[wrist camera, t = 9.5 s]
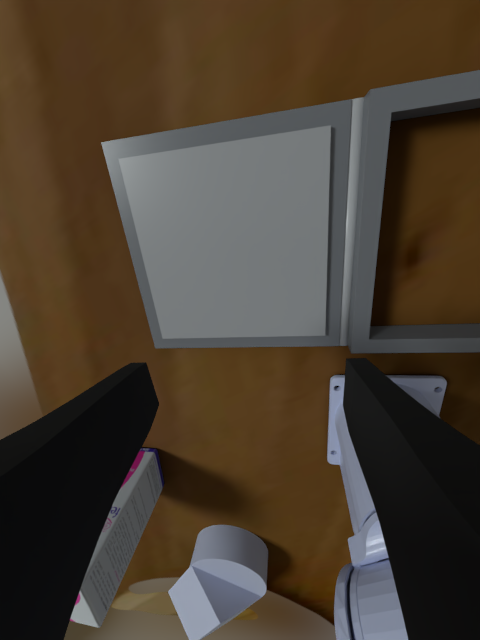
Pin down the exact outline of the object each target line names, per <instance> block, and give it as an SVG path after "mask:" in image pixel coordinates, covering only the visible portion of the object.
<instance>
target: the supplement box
mask: <svg viewBox="0 0 480 640" xmlns="http://www.w3.org/2000/svg"><path fill="white" fill-rule="evenodd" d="M163 486H164V478H163V474H162V469H161V465H160V460H159V455H158V451H157V449H151V448H141V449H140V451H139V453H138V455H137V457H136V459H135V461H134V463H133V465H132V466H131V468H130V470H129V472H128V474H127V476H126V478H125V480H124V482H123V484H122V486H121V488H120V490H119V492H118V494H117V496H116V498H115V501H114V503H113V505H112V507H111V510H110V512H109V515H108V517H107V520H106V522H105V525H104V527H103V530H102V532H101V535H100V537H99V540H98V542H97V545H96V548H95V550H94V553H93V556H92V558H91V561H90V564H89V566H88V569H87V572H86V574H85V577H84V580H83V583H82V586H81V589H80V592H79V595H78V597H77V600H76V603H75V606H74V609H73V612H72V615H71V618H70V621H74V622H77V623H81V624H86V625H89V626H94V627H98V628H99V627H100V626H101V625H102V623H103V621H104V618H105V616H106V614H107V612H108V609H109V607H110V605H111V603H112V601H113V598H114V596H115V594H116V592H117V589H118V587H119V585H120V583H121V580H122V578H123V576H124V574H125V571H126V569H127V567H128V565H129V562H130V560H131V558H132V556H133V553H134V551H135V549H136V547H137V544H138V542H139V540H140V538H141V536H142V533H143V531H144V529H145V527H146V525H147V522H148V520H149V518H150V516H151V513H152V511H153V509H154V507H155V504H156V502H157V500H158V498H159V495H160V493H161V491H162V488H163Z"/></svg>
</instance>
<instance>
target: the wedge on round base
mask: <svg viewBox="0 0 480 640" xmlns="http://www.w3.org/2000/svg"><path fill="white" fill-rule="evenodd" d="M267 566H268V549H267V547H266V545H265V543H264V542H263V541H262V540H261V539H260V538H259V537H257V536H256V535H255V534H253V533H251V532H249V531H247V530H245V529H242V528H239V527H235V526H230V525H214V526H209V527H207V528H204V529H203V530H202V531H201V532H200V533H199V534H198V537H197V541H196V545H195V549H194V552H193V556H192V560H191V564H190V567H189V568H188V570H187V571H186V572H185V573H184V574H183V575H182V577H181V578H180V579H179V580H178V581H177V582H176V583H175V585H174V586H173V587H172V588H171V589H170V590H169V592H168V593H169V595H170V597H171V599H172V602H173V604H174V606H175V609H176V611H177V613H178V615H179V618H180V620H181V622H182V625H183V627H184V629H185V631H186V634H187V636H188V638H189V640H201V639H203V638H204V637H206V636H207V635H209V634H210V633H212V632H213V631H215V630H217V629H218V628H220V627H221V626H223V625H224V624H226V623H227V622H229V621H230V620H232V619H233V618H235V617H236V616H237V615H239V614H240V613H241V612H243V611H244V610H245V609H247V608H248V607H249V606H251V604H253V603H254V602H256V601H257V600H258V599H260V598H261V597H262V596H263V595H264V594H265V593H266V586H267Z"/></svg>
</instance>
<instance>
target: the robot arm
mask: <svg viewBox="0 0 480 640" xmlns="http://www.w3.org/2000/svg"><path fill="white" fill-rule="evenodd" d="M335 386H339V387H338V388H334V387H335ZM446 386H447V381H446V380H445V379H444V378H443V377H442V376H408V375H385V374H384V373H382V372H381V371H380V370H379V369H378V368H377V367H376V366H374V365H373V364H372V363H371V362H370V361H368V360H367V359H366V358H354V359H346V370H345V375H334V376H332V377H331V379H330V395H329V422H328V448H327V459H328V462H329V463H330V464H336V465H340V467H341V472H342V477H343V482H344V487H345V492H346V497H347V502H348V507H349V512H350V517H351V522H352V527H353V531H354V534H355V536H352V537H350V538H348V543H349V549H350V554H351V560H352V563H349V564H347V565H345V566H344V567H343V568H342V569H341V570H340V573H339V575H338V578H337V583H336V590H335V603H334V620H335V631H336V638H337V640H480V445H478V444H477V443H475V442H474V441H472V440H471V439H469V438H467V437H466V436H465V435H463V434H462V433H460V432H459V431H457V430H456V429H454V428H453V427H451V426H450V425H449V424H447V423H446V422H445V421H443V420H442V419H441V418H440V417H439V414H440V410H441V406H442V402H443V398H444V394H445V390H446ZM436 387H439V388H438V389H435V388H436ZM158 406H159V402H158V399H157V396H156V393H155V389H154V386H153V383H152V380H151V377H150V373H149V370H148V367H147V364H146V363H130V364H128V365H126V366H125V367H123V368H121V369H119V370H118V371H116V372H115V373H113V374H111V375H110V376H108V377H107V378H105V379H104V380H102V381H100V382H99V383H97V384H96V385H94V386H93V387H91V388H89V389H88V390H86V391H85V392H83V393H82V394H80V395H79V396H77V397H75V398H74V399H72V400H70V401H69V402H67V403H65V404H64V405H62V406H60V407H59V408H57V409H56V410H54V411H52V412H51V413H49V414H47V415H46V416H44V417H42V418H40V419H39V420H37V421H35V422H33V423H32V424H30V425H28V426H26V427H25V428H22V429H20V430H19V431H17V432H15V433H13V434H11V435H9V436H7V437H5V438H3V439H1V440H0V640H64V637H65V633H66V630H67V627H68V624H69V621H70V618H71V615H72V612H73V609H74V606H75V603H76V600H77V597H78V595H79V592H80V589H81V586H82V583H83V580H84V577H85V574H86V572H87V569H88V566H89V564H90V561H91V558H92V556H93V553H94V550H95V548H96V545H97V542H98V540H99V537H100V535H101V532H102V530H103V527H104V525H105V522H106V520H107V517H108V515H109V512H110V510H111V507H112V505H113V503H114V501H115V498H116V496H117V494H118V492H119V490H120V488H121V486H122V484H123V482H124V480H125V478H126V476H127V474H128V472H129V470H130V468H131V466H132V465H133V463H134V461H135V459H136V457H137V455H138V453H139V451H140V449H141V447H142V445H143V443H144V441H145V439H146V437H147V435H148V433H149V431H150V429H151V426H152V423H153V421H154V418H155V415H156V412H157V409H158Z"/></svg>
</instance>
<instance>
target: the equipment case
mask: <svg viewBox="0 0 480 640" xmlns="http://www.w3.org/2000/svg"><path fill="white" fill-rule="evenodd" d="M474 108H480V70H478V71H472V72H466V73H461V74H455V75H449V76H444V77H438V78H433V79H427V80H421V81H416V82H410V83H404V84H399V85H393V86H387V87H382V88H376V89H370V91H369V92H368V93H367V95H366V96H365V97H364V98H356V99H353V100H352V99H350V100H344V101H339V102H333V103H327V104H321V105H315V106H310V107H304V108H298V109H292V110H287V111H281V112H275V113H269V114H263V115H258V116H252V117H246V118H240V119H234V120H229V121H223V122H217V123H211V124H206V125H200V126H194V127H188V128H182V129H177V130H171V131H165V132H159V133H153V134H148V135H142V136H136V137H130V138H124V139H119V140H113V141H107V142H101V143H102V147H103V151H104V155H105V158H106V162H107V166H108V170H109V174H110V177H111V181H112V185H113V189H114V193H115V197H116V200H117V204H118V208H119V212H120V216H121V219H122V223H123V227H124V231H125V235H126V238H127V242H128V246H129V250H130V254H131V257H132V261H133V265H134V269H135V273H136V276H137V280H138V284H139V288H140V292H141V295H142V299H143V303H144V307H145V311H146V315H147V318H148V322H149V326H150V330H151V334H152V337H153V341H154V345H155V348H215V347H295V346H339V345H340V346H347V345H348V347H349V349H350V351H351V353H455V352H480V323H479V324H438V325H398V326H370V322H371V312H372V302H373V292H374V282H375V272H376V262H377V252H378V242H379V232H380V222H381V212H382V202H383V192H384V183H385V173H386V163H387V153H388V143H389V133H390V123H391V121H396V120H403V119H409V118H416V117H422V116H429V115H435V114H442V113H448V112H455V111H461V110H468V109H474Z"/></svg>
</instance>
